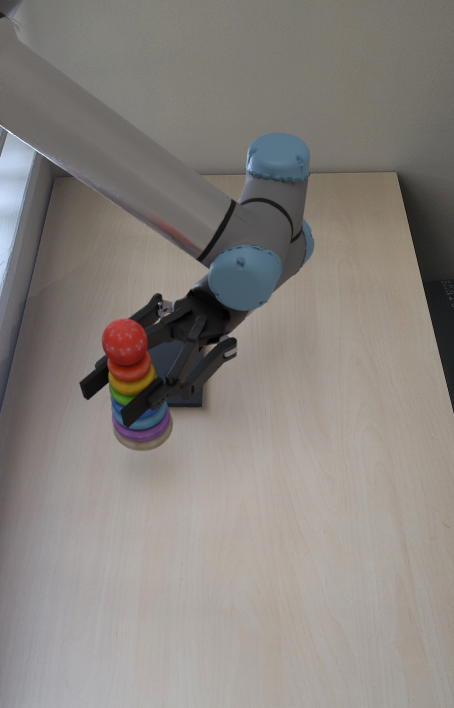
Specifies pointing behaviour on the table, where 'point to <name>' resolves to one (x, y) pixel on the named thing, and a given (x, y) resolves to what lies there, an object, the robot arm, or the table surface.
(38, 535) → the table surface
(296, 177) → the robot arm
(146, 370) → the stacking toy
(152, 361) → the mat
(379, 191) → the table surface
